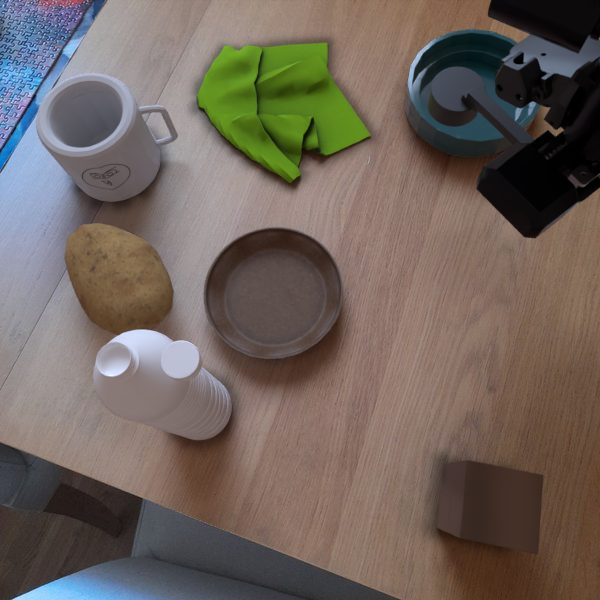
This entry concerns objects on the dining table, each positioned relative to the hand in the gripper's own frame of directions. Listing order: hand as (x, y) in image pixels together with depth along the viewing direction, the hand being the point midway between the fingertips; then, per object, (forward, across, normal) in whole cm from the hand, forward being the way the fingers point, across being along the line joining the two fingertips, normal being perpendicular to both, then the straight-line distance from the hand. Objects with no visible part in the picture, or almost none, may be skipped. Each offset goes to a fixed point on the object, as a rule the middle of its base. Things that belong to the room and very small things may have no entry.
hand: (555, 190), depth 50 cm
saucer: (+13, +24, -12) cm, 30 cm away
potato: (+13, +36, -22) cm, 44 cm away
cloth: (+13, +9, -30) cm, 34 cm away
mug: (+13, +28, -36) cm, 48 cm away
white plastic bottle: (+13, +36, -6) cm, 39 cm away
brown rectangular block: (+13, +21, +17) cm, 30 cm away
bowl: (+13, -9, -17) cm, 23 cm away
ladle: (+1, 0, -7) cm, 8 cm away
